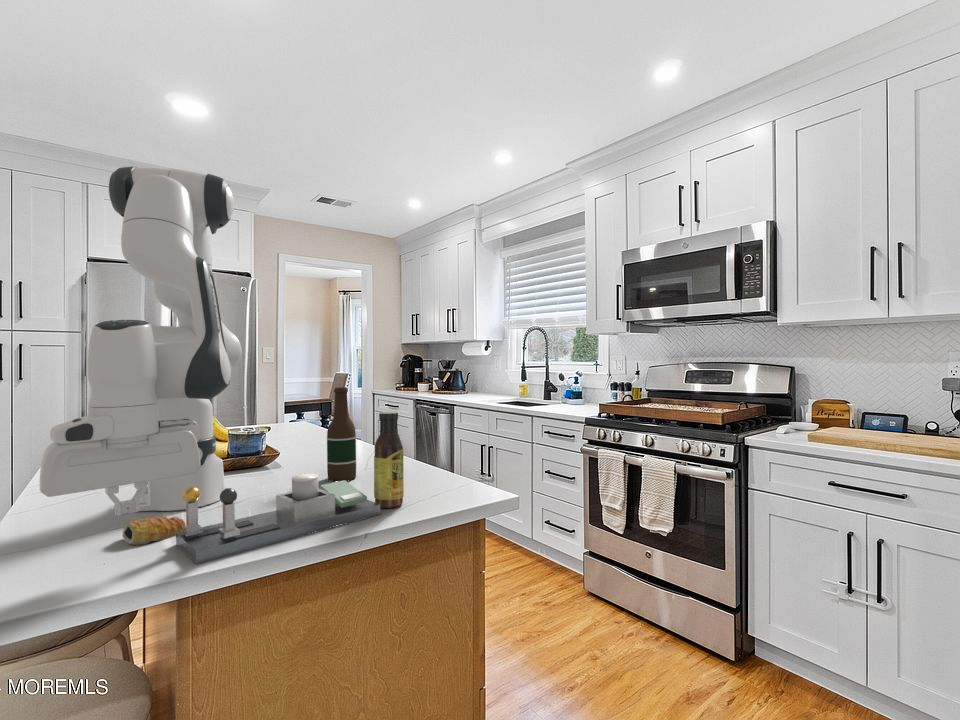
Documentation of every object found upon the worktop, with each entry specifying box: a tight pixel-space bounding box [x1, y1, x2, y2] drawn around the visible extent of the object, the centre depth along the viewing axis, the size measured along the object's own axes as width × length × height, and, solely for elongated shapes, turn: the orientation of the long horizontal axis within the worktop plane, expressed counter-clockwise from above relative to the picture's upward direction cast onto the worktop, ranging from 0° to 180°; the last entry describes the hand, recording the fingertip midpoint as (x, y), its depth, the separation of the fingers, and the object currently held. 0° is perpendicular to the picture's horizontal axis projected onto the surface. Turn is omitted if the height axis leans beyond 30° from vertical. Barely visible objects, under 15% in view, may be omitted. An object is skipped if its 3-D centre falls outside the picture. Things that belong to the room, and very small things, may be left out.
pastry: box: [122, 516, 186, 546], centre depth 90 cm, size 9×7×4 cm
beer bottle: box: [326, 386, 357, 482], centre depth 132 cm, size 8×8×24 cm
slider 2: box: [218, 487, 240, 538], centre depth 83 cm, size 3×3×8 cm
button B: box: [291, 473, 320, 501], centre depth 96 cm, size 5×5×4 cm
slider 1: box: [182, 487, 203, 536], centre depth 84 cm, size 3×3×8 cm
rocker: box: [319, 480, 368, 508], centre depth 102 cm, size 9×6×1 cm, turn 45°
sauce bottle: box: [373, 411, 405, 509], centre depth 108 cm, size 7×6×20 cm
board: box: [175, 487, 381, 565], centre depth 93 cm, size 12×34×6 cm, turn 135°
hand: (127, 513), depth 78 cm, fingers closed
